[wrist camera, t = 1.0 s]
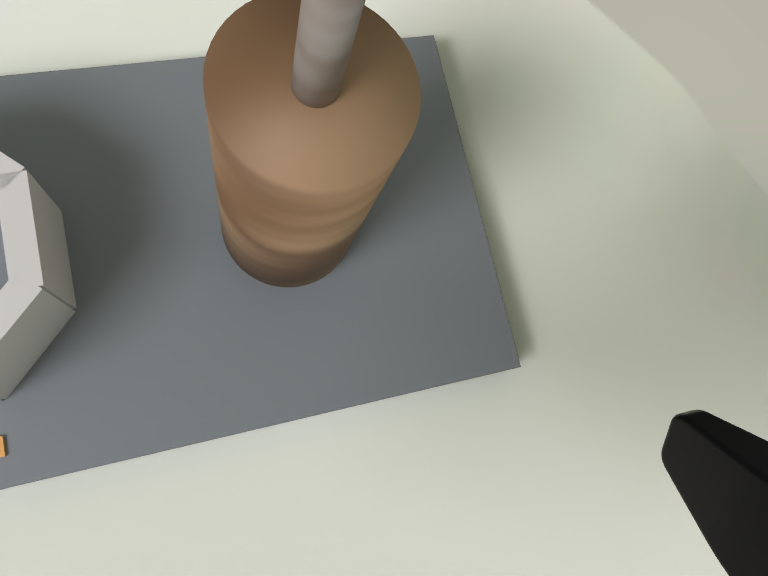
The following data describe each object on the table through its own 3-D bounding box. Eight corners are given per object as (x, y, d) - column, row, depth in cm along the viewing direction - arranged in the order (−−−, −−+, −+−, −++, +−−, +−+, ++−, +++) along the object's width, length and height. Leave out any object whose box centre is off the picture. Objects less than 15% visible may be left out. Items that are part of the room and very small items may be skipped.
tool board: (426, 50, 26) (462, -26, 22) (509, 369, 24) (567, 356, 20) (-341, 126, 20) (-503, 42, 15) (-317, 563, 18) (-496, 608, 13)
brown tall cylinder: (374, 213, 23) (527, -39, 10) (302, 313, 22) (379, 162, 9) (272, 139, 23) (304, -206, 10) (194, 236, 21) (120, -24, 9)
